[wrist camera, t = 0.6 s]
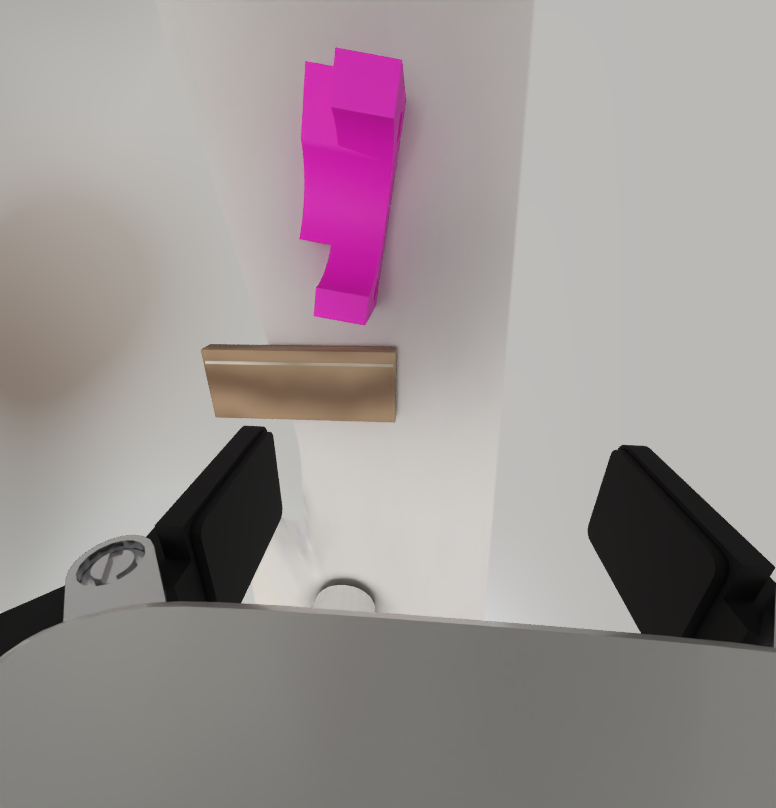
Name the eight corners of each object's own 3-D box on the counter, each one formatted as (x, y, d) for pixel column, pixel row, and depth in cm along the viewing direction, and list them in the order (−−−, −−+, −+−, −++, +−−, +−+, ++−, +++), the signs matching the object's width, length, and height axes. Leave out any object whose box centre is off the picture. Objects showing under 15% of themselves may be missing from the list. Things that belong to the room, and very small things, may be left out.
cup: (389, 609, 50) (380, 738, 38) (337, 625, 53) (311, 752, 40) (357, 567, 48) (335, 691, 35) (303, 586, 50) (263, 710, 37)
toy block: (321, 86, 28) (290, 39, 21) (405, 101, 28) (402, 59, 21) (307, 293, 34) (279, 309, 27) (375, 306, 34) (364, 325, 27)
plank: (210, 344, 36) (200, 349, 35) (396, 346, 35) (395, 352, 33) (224, 409, 39) (215, 417, 38) (396, 414, 38) (395, 422, 36)
